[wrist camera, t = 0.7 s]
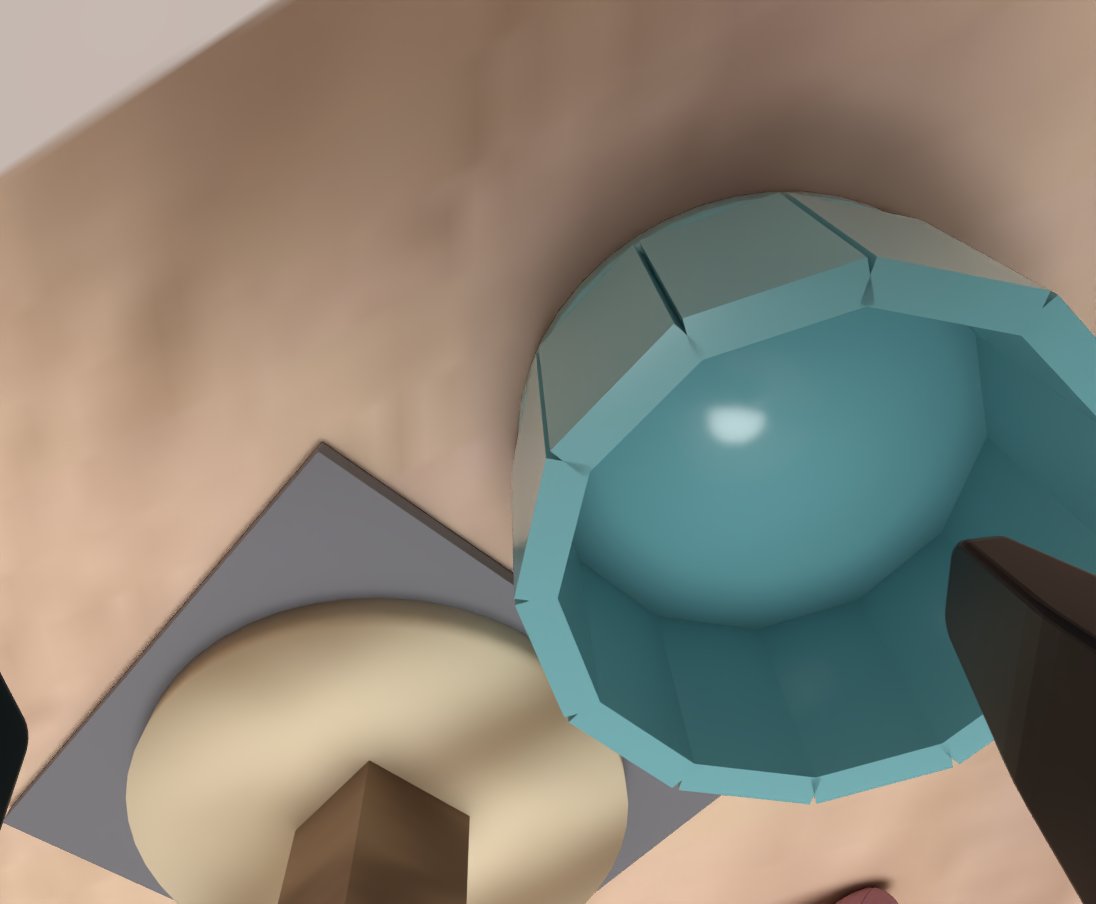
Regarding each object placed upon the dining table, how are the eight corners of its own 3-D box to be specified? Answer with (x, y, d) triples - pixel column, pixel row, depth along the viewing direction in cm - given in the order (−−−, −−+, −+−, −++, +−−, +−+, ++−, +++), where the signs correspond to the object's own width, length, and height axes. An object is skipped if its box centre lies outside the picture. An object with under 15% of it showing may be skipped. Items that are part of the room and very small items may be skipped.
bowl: (1089, 408, 22) (1275, 541, 17) (742, 691, 26) (805, 872, 21) (775, 70, 18) (888, 102, 13) (419, 460, 22) (393, 611, 17)
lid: (720, 762, 27) (778, 964, 21) (428, 992, 31) (413, 1209, 26) (328, 502, 22) (271, 674, 16) (50, 817, 26) (-68, 1036, 21)
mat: (763, 746, 27) (767, 758, 27) (434, 1003, 32) (433, 1017, 32) (321, 442, 22) (318, 452, 21) (10, 808, 27) (2, 822, 26)
